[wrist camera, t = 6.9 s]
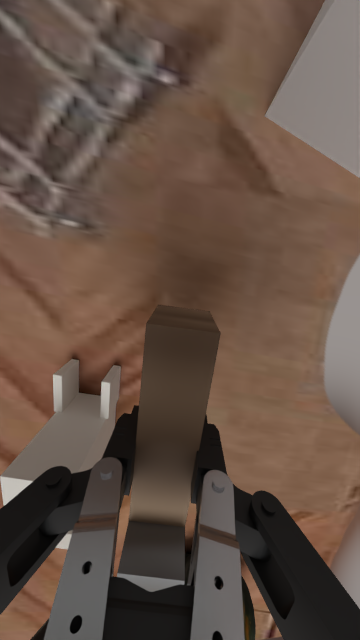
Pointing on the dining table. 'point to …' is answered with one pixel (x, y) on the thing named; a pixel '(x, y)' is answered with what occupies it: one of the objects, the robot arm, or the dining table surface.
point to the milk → (325, 86)
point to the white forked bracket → (67, 433)
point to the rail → (167, 443)
